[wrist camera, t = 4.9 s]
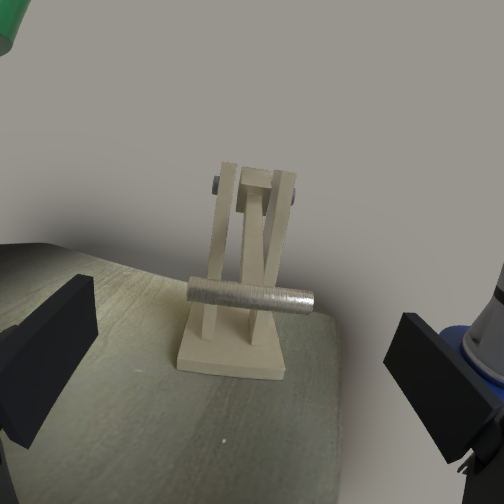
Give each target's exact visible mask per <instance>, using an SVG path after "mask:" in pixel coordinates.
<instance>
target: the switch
mask: <svg viewBox="0 0 504 504" xmlns="http://www.w3.org/2000/svg"><path fill="white" fill-rule="evenodd" d="M271 191H272V182H271V171H269V170H262V169H256V168H250V167H242V170H241V176H240V182H239V189H238V195H237V205H236V212H240V213H244V221H243V235H242V252H241V265H240V281H239V283H237V282H230V281H222V280H215V279H207V278H200V277H192V276H191V277H190V278H189V280H188V285H187V294H186V298H187V301H189V302H196V303H203V304H211V305H218V306H226V307H234V308H243V309H251V310H260V311H270V312H280V313H290V314H301V315H310V314H311V313H312V310H313V307H314V294H313V292H312V291H306V290H297V289H287V288H279V287H270V286H264V259H263V216H266V212H267V208H268V204H269V199H270V195H271Z"/></svg>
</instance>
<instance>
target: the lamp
mask: <svg viewBox="0 0 504 504" xmlns="http://www.w3.org/2000/svg"><path fill="white" fill-rule="evenodd" d="M30 1H31V0H0V56H2V55H4V54H6V53H8V52H9V51H10V50H11V48H12V46H13V42H14V40H15V37H16V34H17V32H18V29H19V27H20V24H21V22H22V19H23V17H24V14H25V12H26V10H27V8H28V5H29V3H30Z"/></svg>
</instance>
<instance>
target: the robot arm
mask: <svg viewBox="0 0 504 504" xmlns="http://www.w3.org/2000/svg"><path fill="white" fill-rule="evenodd" d="M97 336H98V327H97V318H96V308H95V296H94V280H93V277H91V276H86V275H81V274H77V275H76V276H74V277H73V278H72V279H71V280H69V281H68V282H67V283H66V284H65V285H63V286H62V287H61V288H60V289H59V290H57V291H56V292H55V293H54V294H53V295H52V296H50V297H49V298H48V299H47V300H46V301H45V302H44V303H42V304H41V305H40V306H39V307H38V308H37V309H36V310H35V311H33V312H32V313H31V314H30V315H29V316H28V317H27V318H26V319H25V320H24V321H23V322H21V323H20V324H19V325H18V326H17V325H13V326H11V327H9V328H7V329H5V330H3V331H2V332H1V333H0V431H1V429H2V428H3V430H4V431H5V433H6V434H7V436H8V438H9V439H10V440H11V441H13V442H15V443H17V444H19V445H21V446H23V447H24V448H26V449H28V450H29V448H30V446H31V444H32V442H33V440H34V438H35V437H36V435H37V433H38V431H39V429H40V427H41V426H42V424H43V422H44V420H45V419H46V417H47V415H48V413H49V412H50V410H51V408H52V407H53V405H54V403H55V401H56V400H57V398H58V396H59V395H60V393H61V392H62V390H63V388H64V387H65V385H66V383H67V382H68V380H69V379H70V377H71V375H72V374H73V372H74V371H75V369H76V368H77V366H78V365H79V363H80V362H81V360H82V358H83V357H84V355H85V354H86V352H87V351H88V349H89V348H90V346H91V345H92V344H93V342H94V341H95V339H96V338H97ZM460 350H461V353H462V356H463V357H464V359H465V361H466V362H467V363H468V364H467V363H466V362H465V361H464V360H463V359H462V358H461V357H460V356H459V355H458V354H457V353H456V352H455V351H454V350H453V349H452V348H451V347H450V346H449V345H448V344H447V343H446V342H445V341H444V340H443V339H442V338H441V337H440V336H439V335H438V334H437V333H436V332H435V331H434V330H433V329H432V328H431V327H430V326H429V325H428V324H427V323H426V322H425V321H424V320H423V319H422V318H420V317H419V316H418V315H417V314H416V313H403V315H402V317H401V320H400V323H399V325H398V328H397V330H396V333H395V335H394V338H393V340H392V342H391V345H390V347H389V350H388V352H387V354H386V356H385V358H384V361H383V363H384V364H385V366H386V367H387V369H388V370H389V372H390V373H391V375H392V376H393V378H394V379H395V381H396V382H397V384H398V385H399V387H400V388H401V390H402V391H403V393H404V395H405V396H406V398H407V399H408V401H409V402H410V404H411V405H412V407H413V408H414V410H415V412H416V413H417V415H418V416H419V418H420V419H421V421H422V423H423V424H424V426H425V427H426V429H427V431H428V432H429V434H430V435H431V437H432V439H433V440H434V442H435V444H436V445H437V447H438V449H439V450H440V452H441V454H442V455H443V457H444V459H445V460H446V462H447V464H450V463H452V462H455V461H457V460H459V459H461V458H462V457H463V456H464V455H465V454H466V453H467V451H468V450H469V449H470V448H472V450H473V451H474V452H473V453H472V454H471V456H470V457H469V458H468V459H467V460H466V461H465V462H464V463H463V464H462V465H461V466H460V467H459V468H458V471H457V472H458V473H459V472H460V471H461V470H462V469H463V468H464V467H465V466H468V467H467V468H466V469H465V470H464V471H463V474H466V475H467V476H466V483H465V489H464V495H463V500H462V504H504V403H503V402H502V401H501V399H500V398H499V397H498V396H497V395H496V394H495V393H494V392H493V391H492V389H491V388H490V387H489V386H488V385H487V384H486V383H485V382H484V381H483V380H482V379H481V378H480V376H481V377H482V378H483V379H485V380H486V381H488V382H489V383H491V384H493V385H494V386H496V387H498V388H501V389H503V390H504V264H503V267H502V270H501V273H500V276H499V279H498V282H497V285H496V288H495V291H494V294H493V296H492V299H491V300H490V302H489V303H488V305H487V306H486V307H485V308H484V310H483V311H482V313H481V314H480V315H479V316H478V318H477V319H476V320H475V321H474V323H473V324H472V325H471V326H470V327H469V329H468V330H467V332H466V333H465V335H464V337H463V339H462V341H461V344H460ZM479 375H480V376H479ZM0 504H19V501H18V499H17V496H16V493H15V490H14V487H13V483H12V480H11V477H10V473H9V470H8V466H7V462H6V458H5V453H4V449H3V444H2V441H1V438H0Z"/></svg>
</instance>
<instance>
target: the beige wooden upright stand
mask: <svg viewBox="0 0 504 504" xmlns="http://www.w3.org/2000/svg"><path fill="white" fill-rule="evenodd" d="M236 168H237V164H236V163H230V162H222V166H221V173H220V176H215V177H214V180H213V187H212V194H214V195H217V202H216V209H215V216H214V223H213V232H212V239H211V248H210V256H209V265H208V274H207V279H215V280H221V274H222V266H223V259H224V251H225V244H226V237H227V228H228V222H229V215H230V208H231V202H232V194H233V187H234V181H235V175H236ZM295 178H296V173H291V172H286V171H280V170H274V173H273V178H272V191H271V195H270V199H269V204H268V208H267V214H266V220H265V226H264V231H263V259H264V286H270V287H275V286H276V280H277V275H278V270H279V265H280V260H281V255H282V250H283V245H284V239H285V234H286V229H287V223H288V218H289V213H290V207H291V206H292V205H293V203H294V199H295V188H294V184H295ZM177 370H182V371H189V372H196V373H204V374H212V375H220V376H229V377H240V378H252V379H266V380H283V377H284V373H285V370H286V369H285V365H284V360H283V356H282V352H281V348H280V343H279V339H278V335H277V331H276V327H275V322H274V318H273V314H272V312H270V311H260V310H251V309H243V308H234V307H226V306H218V305H211V304H203V303H196V302H192V305H191V309H190V312H189V316H188V319H187V323H186V327H185V330H184V334H183V337H182V341H181V345H180V348H179V352H178V356H177Z"/></svg>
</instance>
